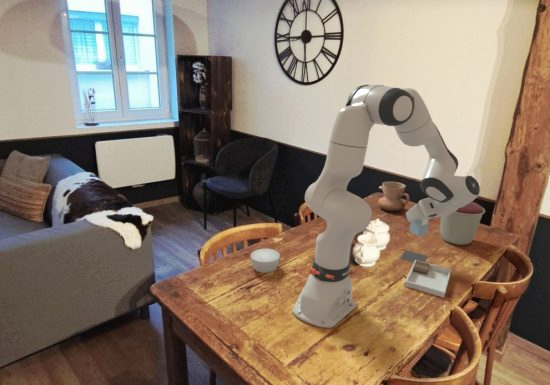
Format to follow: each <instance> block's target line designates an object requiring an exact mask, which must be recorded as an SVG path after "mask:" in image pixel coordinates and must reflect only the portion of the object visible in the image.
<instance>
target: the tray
mask: <svg viewBox="0 0 550 385" xmlns="http://www.w3.org/2000/svg"><path fill="white" fill-rule="evenodd" d="M417 261H418V260H417ZM415 262H416V260H415V261H414V262H412V266H411V268H410V270H409V272H408V275H407V276H406V279H405V281H404V287H406V288H410V289H412V290H416V291H419V292H424V293H426V294H430V295H434V296H436V297H440V298H445V295H446V292H447V288H448V284H449V282H450V281H449V280H450V277H451V274H452V273H451V272H452V269H451V268H448V267H443V266H441V265H437V264H432V263H429V264H430V266H429V271H428V273H427V275H424V274H420V273H417V272H413V268H414V264H415ZM421 262H422V261H421ZM425 263H427V262H426V261H425Z"/></svg>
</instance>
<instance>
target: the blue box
mask: <svg viewBox="0 0 550 385" xmlns="http://www.w3.org/2000/svg"><path fill="white" fill-rule="evenodd" d="M409 223H410V224H409V229H408V231H409V232H410V233H411V234H413V235H415V236H416V237H422V236H426V235H428V231H429V224H430V219H424V220H418V221H417V222H409Z"/></svg>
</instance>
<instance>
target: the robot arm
mask: <svg viewBox="0 0 550 385" xmlns="http://www.w3.org/2000/svg"><path fill="white" fill-rule="evenodd" d="M374 125H382V126H384V125H386V126H387V127H393V128H394V130H395V133H396V135H397V136H398V139H399V140H400V141H401V143H402V144H404V145H406V146H409V147H422V146H424V147H425V149H426V152H427V153H428V160H427V164H426V166H425V170H424V173H423V175H422V177H421V180H420V183H419V187H420V189H421V191H422V193H424V194H425V195H426V196H427V198H423V199H421V200H419V201H418V203H417V204H415V205H414V206H412V207H411V208H409V209H408V210H407V211H406V212H405V217H406V219H407V221H408V222H409V223H411V222H417V221H418V220H424V219H429V220H430V219H435V218H440V219H441V218H444V217H447V216H449V215H450V214H452V213H454V212H455V211H457V210H458V208H462V207H464V206H466V205H467V204H469V203H471V202H474V200H476V199H477V198H478V197H479V196H480V191H481V188H480V185H479V182H478V180H477V179H476V178H475V177H474V176H472V175H464V176H460V175H456V172H457V170H458V166H459V159H458V158H457V156H455V154H454V153H453V152H452V151H451V150H450V149H449V147H448V146H447V145H446V142H445V140H444V138H443V136H442V134H441V133H440V131H439V128H438V127H437V125H436V124H435V123H434V121H433V119H432V117H431V113H430V111H429V108H428V107H427V105H426V103H425V101H424V99H423V97H422V96H421V95H420V93H419V92H418V91H417V90H415V89H414V88H411V87H408V88H407V87H406V88H400V87H391V86H386V85H384V84H371V85H370V84H362V85H358V86H357V87H355V88H354V89H353V90H352V91H351V92H350V94H349V95H348V97H347V102H346V104H345V106H343V107H342V108H340V109H339V111H338V113H337V114H336V117H335V120H334V123H333V126H332V129H331V133H330V138H329V142H328V149H327V152H326V153H327V154H326V158H325V159H326V160H325V163H324V167H323V169H322V171H321V174H320V175H319V176H318V178H317V180H316V181H315V182H312V184H310V185H309V186H308V187H307V189H306V190H305V193H304V201H305V202H304V203H305V204H306V206H307V207H308V208H309V210H311V212H312V213H314V214H315V215H316V216H318V217H319V218H321V219H323V220H325V221H326V230H324V231H323V232H321V233H320V234H318V235H317V237H316V239H315V250H314V254H315V255H314V257H313V261H312V264H311V267H310V268H309V270H308V274H309V275H308V277H307V280H306V282H305V284H304V286H303V288H302V290H301V292H300V294H299V295H298V298H297V300H296V301H295V303H294V306H293V309H292V314H293V315H294V316H295V317H296V318H298V319H300V320H301V321H303V322H305V323H308V324H310V325H314V326H315V327H316V326H317V327H319V328H330V329H331V328H334V327H335V326H336V325H337V324H338V323H340V321H342V320H343V319H344V318H345V317H346V316H348V314H350V313H351V312H352V311H353V310H355V308H356V307H357V304H356V302H355V301H354V299H353V284H354V283H353V282H352V280H351V277H350V270H351V262H350V257H351V256H350V255H351V249H352V243H353V240H354V238H355V237H356V235H357V234H360V233H361V232H363V231H365V230H366V229H367V228H368V227H369V225H370V223H371V221H372V218H373V217H372V216H373V211H372V208H371V206H370V205H369V203H368V202H366V201H365V200H363V199H362V197H360V196H358V195H356V194H354V193H352V192H350V191H348V189H347V187H348V185H349V183H350V182H351V180H352V179H354V178H356V177H358V176H359V175H361V173H362V171H363V169H364V164H365V159H366V154H367V149H368V146H369V145H368V143H369V138H370V137H369V136H370V131H371V129H372V128H373V127H374Z"/></svg>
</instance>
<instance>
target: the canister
mask: <svg viewBox="0 0 550 385" xmlns="http://www.w3.org/2000/svg"><path fill="white" fill-rule="evenodd" d="M485 213H486V209H485V208H484V207H482V205H480V204H478V203H477V202H474V201H472V202H471V203H469V204H467V205H466V206H464V207H462V208H458V210H457V211H455V212H454V213H452V214H450V215H449V216H447V217H444V218H441V217H440V227H439V228H440V229H439V230H440V233H439V234H440V236H441V238H442V239H443V241H446V242H447V243H450V244H453V245H458V246H465V245H466V246H467V245H469V244H471V243H472V242H473V240H474V239H475V236H476V233H477V231H478V228H479V225H480V222H481V220H482V217H483V215H484V214H485Z"/></svg>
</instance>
